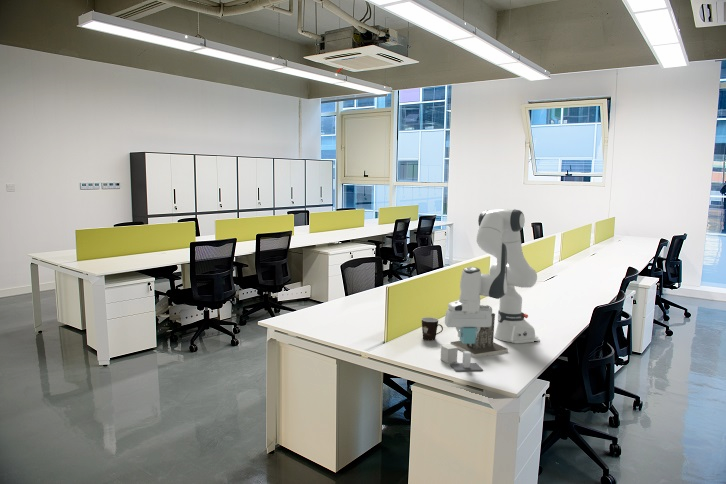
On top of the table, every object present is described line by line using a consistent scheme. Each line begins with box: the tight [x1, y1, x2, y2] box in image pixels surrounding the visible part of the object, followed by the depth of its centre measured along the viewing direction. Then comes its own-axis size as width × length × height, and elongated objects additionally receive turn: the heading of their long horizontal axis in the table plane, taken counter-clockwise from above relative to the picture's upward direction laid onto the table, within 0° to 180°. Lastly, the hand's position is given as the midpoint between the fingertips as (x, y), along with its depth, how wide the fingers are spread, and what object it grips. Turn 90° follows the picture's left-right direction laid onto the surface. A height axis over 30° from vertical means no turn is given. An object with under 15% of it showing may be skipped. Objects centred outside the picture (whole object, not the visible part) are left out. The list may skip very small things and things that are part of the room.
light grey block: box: [440, 343, 459, 364], centre depth 222 cm, size 5×5×7 cm
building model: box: [450, 312, 509, 358], centre depth 238 cm, size 20×20×18 cm
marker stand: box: [449, 351, 484, 373], centre depth 214 cm, size 12×8×7 cm, turn 98°
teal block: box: [458, 327, 476, 344], centre depth 212 cm, size 5×5×7 cm
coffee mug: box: [421, 316, 444, 342], centre depth 251 cm, size 12×9×10 cm
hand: (467, 336), depth 212 cm, fingers closed on teal block, 5 cm apart
